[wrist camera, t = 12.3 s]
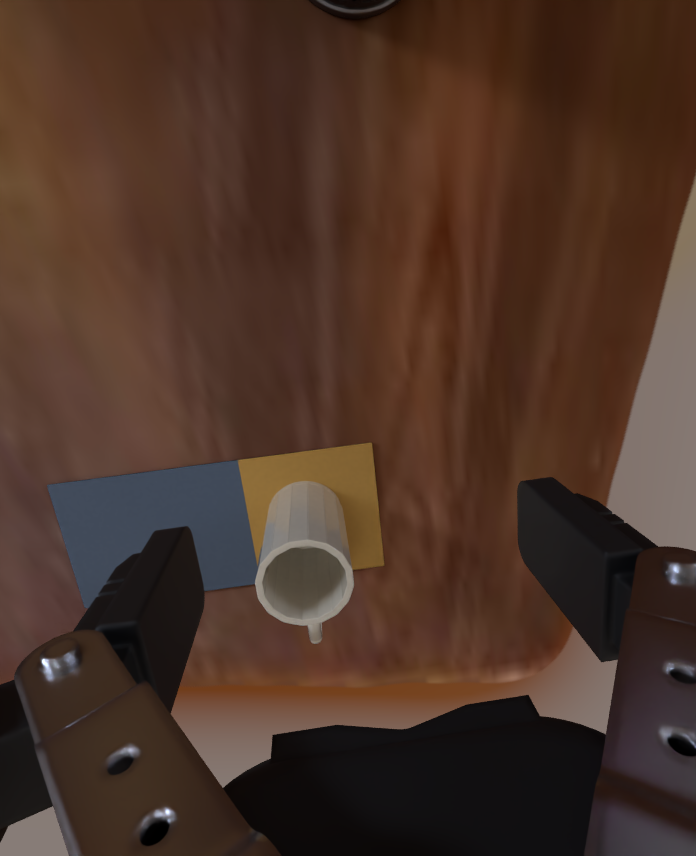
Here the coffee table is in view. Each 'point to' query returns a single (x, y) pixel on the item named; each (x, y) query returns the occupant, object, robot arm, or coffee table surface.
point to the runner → (211, 512)
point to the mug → (304, 557)
